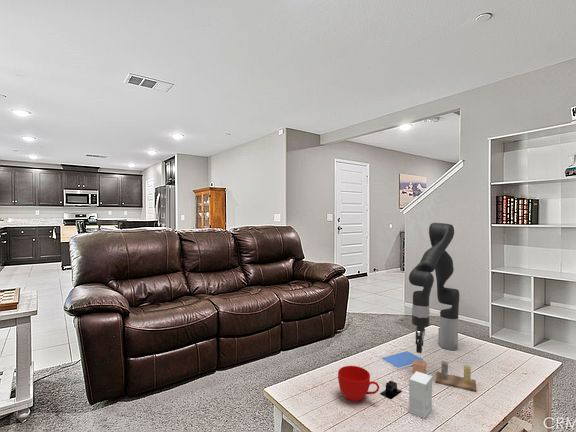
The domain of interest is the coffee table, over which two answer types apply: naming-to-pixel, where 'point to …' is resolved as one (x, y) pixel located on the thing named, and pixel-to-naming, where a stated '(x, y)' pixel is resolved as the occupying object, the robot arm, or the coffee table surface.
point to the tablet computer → (401, 360)
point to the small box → (420, 394)
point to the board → (453, 379)
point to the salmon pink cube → (419, 366)
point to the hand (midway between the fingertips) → (419, 349)
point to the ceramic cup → (355, 382)
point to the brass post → (467, 375)
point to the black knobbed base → (391, 390)
